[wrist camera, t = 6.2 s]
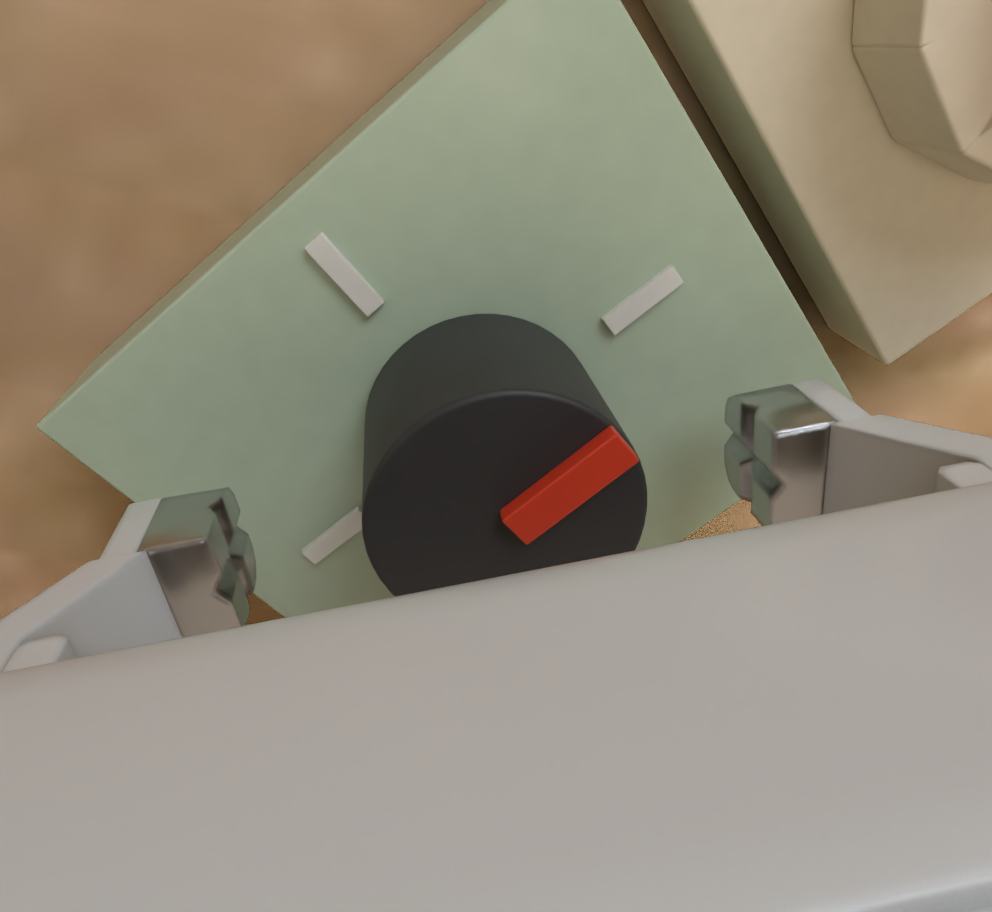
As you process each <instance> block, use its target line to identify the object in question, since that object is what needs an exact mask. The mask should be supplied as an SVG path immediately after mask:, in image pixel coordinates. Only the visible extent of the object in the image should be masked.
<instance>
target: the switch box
mask: <svg viewBox="0 0 992 912" xmlns="http://www.w3.org/2000/svg"><path fill="white" fill-rule="evenodd" d="M642 1H643V2H644V4H645V6H646V8H647V9H648V11H649V13H650V15H651V16H652V18H653V20H654V22H655V24H656V25H657V27H658V29H659V31H660V32H661V34H662V36H663V38H664V39H665V41H666V43H667V45H668V46H669V48H670V50H671V52H672V53H673V55H674V57H675V59H676V60H677V62H678V64H679V66H680V67H681V69H682V71H683V73H684V74H685V76H686V78H687V80H688V81H689V83H690V85H691V87H692V88H693V90H694V92H695V94H696V95H697V97H698V99H699V101H700V102H701V104H702V106H703V108H704V109H705V111H706V113H707V115H708V116H709V118H710V120H711V122H712V124H713V125H714V127H715V129H716V131H717V132H718V134H719V136H720V138H721V139H722V141H723V143H724V145H725V146H726V148H727V150H728V152H729V153H730V155H731V157H732V159H733V160H734V162H735V164H736V166H737V167H738V169H739V171H740V173H741V174H742V176H743V178H744V180H745V181H746V183H747V185H748V187H749V188H750V190H751V192H752V194H753V195H754V197H755V199H756V201H757V202H758V204H759V206H760V208H761V209H762V211H763V213H764V215H765V217H766V218H767V220H768V222H769V224H770V225H771V227H772V229H773V231H774V232H775V234H776V236H777V238H778V239H779V241H780V243H781V245H782V246H783V248H784V250H785V252H786V253H787V255H788V257H789V259H790V260H791V262H792V264H793V266H794V267H795V269H796V271H797V273H798V274H799V276H800V278H801V280H802V281H803V283H804V285H805V287H806V288H807V290H808V292H809V294H810V295H811V297H812V299H813V301H814V302H815V304H816V306H817V308H818V309H819V311H820V313H821V315H822V317H823V318H824V320H825V322H826V324H827V325H828V327H829V329H830V330H832V331H833V332H835V333H836V334H838V335H840V336H841V337H843V338H844V339H846V340H847V341H849V342H850V343H852V344H854V345H855V346H857V347H858V348H860V349H861V350H863V351H864V352H866V353H867V354H869V355H871V356H872V357H874V358H875V359H877V360H878V361H880V362H881V363H883V364H885V365H889V364H891V363H892V362H893V361H895V360H896V359H898V358H899V357H901V356H902V355H904V354H905V353H906V352H908V351H909V350H911V349H912V348H914V347H915V346H917V345H918V344H919V343H921V342H922V341H924V340H925V339H927V338H928V337H929V336H931V335H932V334H934V333H935V332H937V331H938V330H940V329H941V328H942V327H944V326H945V325H947V324H948V323H950V322H951V321H952V320H954V319H955V318H957V317H958V316H960V315H961V314H963V313H964V312H965V311H967V310H968V309H970V308H971V307H973V306H974V305H975V304H977V303H978V302H980V301H981V300H983V299H984V298H986V297H987V296H988V295H990V294H991V293H992V0H642Z"/></svg>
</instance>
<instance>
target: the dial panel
mask: <svg viewBox="0 0 992 912" xmlns="http://www.w3.org/2000/svg"><path fill="white" fill-rule="evenodd" d="M473 314H500V315H508V316H512V317H516V318H520V319H524V320H527V321H529V322H532V323H534V324H537V325H539V326H541V327H542V328H544V329H546V330H548V331H549V332H551V333H552V334H554V335H555V336H556V337H558V338H559V339H560V340H562V341H563V342H564V343H565V344H566V345H567V346H568V347H569V348H570V349H571V350H572V351H573V353H574V354H575V355H576V357H577V358H578V360H579V361H580V362H581V364H582V365H583V367H584V369H585V370H586V372H587V373H588V375H589V377H590V378H591V380H592V381H593V383H594V385H595V386H596V388H597V389H598V391H599V393H600V394H601V396H602V397H603V399H604V401H605V402H606V404H607V405H608V407H609V409H610V410H611V412H612V413H613V415H614V417H615V418H616V420H617V421H618V423H619V425H620V426H621V428H622V429H623V431H624V432H625V434H626V436H627V437H628V439H629V440H630V442H631V444H632V445H633V447H634V449H635V451H636V453H637V455H638V457H639V459H640V461H641V465H642V468H643V471H644V474H645V479H646V486H647V512H646V518H645V524H644V528H643V531H642V535H641V538H640V541H639V543H638V545H637V547H636V549H635V550H640V549H646V548H651V547H656V546H661V545H666V544H672V543H677V542H680V541H681V540H683V539H684V538H686V537H687V536H689V535H690V534H692V533H693V532H695V531H696V530H697V529H699V528H700V527H702V526H703V525H705V524H706V523H708V522H709V521H711V520H712V519H714V518H715V517H716V516H718V515H719V514H721V513H722V512H724V511H725V510H727V509H728V508H730V507H731V506H732V505H734V504H735V503H737V502H738V501H740V500H741V499H740V498H739V497H738V496H737V495H736V493H735V492H734V491H733V489H732V487H731V485H730V483H729V481H728V477H727V473H726V469H725V464H724V445H725V444H726V442H727V441H728V439H729V438H730V437H731V435H732V434H733V431H732V430H731V429H730V428H729V427H728V425H727V424H726V423H725V406H726V402H727V398H729V397H731V396H733V395H737V394H742V393H747V392H752V391H757V390H761V389H766V388H771V387H776V386H781V385H786V384H794V383H798V382H803V381H807V380H811V379H822V380H823V381H825V382H826V383H827V384H829V385H830V386H831V387H833V388H834V389H836V390H837V391H838V392H840V393H841V394H842V395H844V396H845V397H847V398H848V399H849V400H851V401H852V402H853V403H855V401H854V399H853V398H852V396H851V394H850V393H849V391H848V389H847V387H846V386H845V384H844V382H843V381H842V379H841V377H840V375H839V374H838V372H837V370H836V369H835V367H834V365H833V363H832V362H831V360H830V358H829V357H828V355H827V353H826V351H825V350H824V348H823V346H822V345H821V343H820V341H819V339H818V338H817V336H816V334H815V333H814V331H813V329H812V327H811V326H810V324H809V322H808V321H807V319H806V317H805V315H804V314H803V312H802V310H801V309H800V307H799V305H798V303H797V302H796V300H795V298H794V297H793V295H792V293H791V291H790V290H789V288H788V286H787V285H786V283H785V281H784V279H783V278H782V276H781V274H780V273H779V271H778V269H777V267H776V266H775V264H774V262H773V261H772V259H771V257H770V255H769V254H768V252H767V250H766V249H765V247H764V245H763V243H762V242H761V240H760V238H759V237H758V235H757V233H756V232H755V230H754V228H753V226H752V225H751V223H750V221H749V220H748V218H747V216H746V214H745V213H744V211H743V209H742V208H741V206H740V204H739V202H738V201H737V199H736V197H735V196H734V194H733V192H732V190H731V189H730V187H729V185H728V184H727V182H726V180H725V178H724V177H723V175H722V173H721V172H720V170H719V168H718V166H717V165H716V163H715V161H714V160H713V158H712V156H711V154H710V153H709V151H708V149H707V148H706V146H705V144H704V142H703V141H702V139H701V137H700V136H699V134H698V132H697V130H696V129H695V127H694V125H693V124H692V122H691V120H690V118H689V117H688V115H687V113H686V112H685V110H684V108H683V106H682V105H681V103H680V101H679V100H678V98H677V96H676V94H675V93H674V91H673V89H672V88H671V86H670V84H669V82H668V81H667V79H666V77H665V76H664V74H663V72H662V70H661V69H660V67H659V65H658V64H657V62H656V60H655V58H654V57H653V55H652V53H651V52H650V50H649V48H648V46H647V45H646V43H645V41H644V40H643V38H642V36H641V34H640V33H639V31H638V29H637V28H636V26H635V24H634V22H633V21H632V19H631V17H630V16H629V14H628V12H627V11H626V9H625V7H624V5H623V4H622V2H621V0H489V1H488V2H487V3H486V4H485V5H484V6H483V7H482V8H480V9H479V10H478V11H477V12H476V13H475V14H474V15H473V16H472V17H471V18H469V19H468V20H467V21H466V22H465V23H464V24H463V25H462V26H461V27H460V28H458V29H457V30H456V31H455V32H454V33H453V34H452V35H451V36H450V37H449V38H447V39H446V40H445V41H444V42H443V43H442V44H441V45H440V46H439V47H438V48H436V49H435V50H434V51H433V52H432V53H431V54H430V55H429V56H428V57H427V58H425V59H424V60H423V61H422V62H421V63H420V64H419V65H418V66H417V67H416V68H414V69H413V70H412V71H411V72H410V73H409V74H408V75H407V76H406V77H405V78H403V79H402V80H401V81H400V82H399V83H398V84H397V85H396V86H395V87H394V88H392V89H391V90H390V91H389V92H388V93H387V94H386V95H385V96H384V97H383V98H381V99H380V100H379V101H378V102H377V103H376V104H375V105H374V106H373V107H372V108H370V109H369V110H368V111H367V112H366V113H365V114H364V115H363V116H362V117H361V118H359V119H358V120H357V121H356V122H355V123H354V124H353V125H352V126H351V127H350V128H348V129H347V130H346V131H345V132H344V133H343V134H342V135H341V136H340V137H339V138H337V139H336V140H335V141H334V142H333V143H332V144H331V145H330V146H329V147H328V148H326V149H325V150H324V151H323V152H322V153H321V154H320V155H319V156H318V157H317V158H315V159H314V160H313V161H312V162H311V163H310V164H309V165H308V166H307V167H306V168H304V169H303V170H302V171H301V172H300V173H299V174H298V175H297V176H296V177H295V178H293V179H292V180H291V181H290V182H289V183H288V184H287V185H286V186H285V187H284V188H282V189H281V190H280V191H279V192H278V193H277V194H276V195H275V196H274V197H273V198H271V199H270V200H269V201H268V202H267V203H266V204H265V205H264V206H263V207H262V208H260V209H259V210H258V211H257V212H256V213H255V214H254V215H253V216H252V217H251V218H249V219H248V220H247V221H246V222H245V223H244V224H243V225H242V226H241V227H240V228H238V229H237V230H236V231H235V232H234V233H233V234H232V235H231V236H230V237H229V238H227V239H226V240H225V241H224V242H223V243H222V244H221V245H220V246H219V247H218V248H216V249H215V250H214V251H213V252H212V253H211V254H210V255H209V256H208V257H207V258H205V259H204V260H203V261H202V262H201V263H200V264H199V265H198V266H197V267H196V268H194V269H193V270H192V271H191V272H190V273H189V274H188V275H187V276H186V277H185V278H183V279H182V280H181V281H180V282H179V283H178V284H177V285H176V286H175V287H174V288H172V289H171V290H170V291H169V292H168V293H167V294H166V295H165V296H164V297H163V298H161V299H160V300H159V301H158V302H157V303H156V304H155V305H154V306H153V307H151V308H150V309H149V310H148V311H147V312H146V313H145V314H144V315H143V316H142V317H140V318H139V319H138V320H137V321H136V322H135V323H134V324H133V325H132V326H131V327H129V328H128V329H127V330H126V331H125V332H124V333H123V334H122V335H121V336H120V337H118V338H117V339H116V340H115V341H114V342H113V343H112V344H111V345H110V346H109V347H107V348H106V349H105V350H104V351H103V352H102V353H101V354H100V355H99V356H98V357H96V358H95V359H94V360H93V362H92V363H91V364H90V365H89V366H88V367H87V368H86V370H85V371H84V372H83V373H82V374H81V375H80V376H79V378H78V379H77V380H76V381H75V382H74V383H73V384H72V385H71V387H70V388H69V389H68V390H67V391H66V392H65V393H64V395H63V396H62V397H61V398H60V399H59V400H58V401H57V403H56V404H55V405H54V406H53V407H52V408H51V409H50V411H49V412H48V413H47V414H46V415H45V416H44V417H43V418H42V420H41V421H40V422H39V423H38V425H37V428H38V429H39V430H40V431H41V432H43V433H44V434H45V435H47V436H48V437H49V438H51V439H52V440H53V441H54V442H56V443H57V444H58V445H60V446H61V447H62V448H64V449H65V450H66V451H68V452H69V453H70V454H71V455H73V456H74V457H75V458H77V459H78V460H79V461H81V462H82V463H83V464H85V465H86V466H87V467H88V468H90V469H91V470H92V471H94V472H95V473H96V474H98V475H99V476H100V477H102V478H103V479H104V480H105V481H107V482H108V483H109V484H111V485H112V486H113V487H115V488H116V489H117V490H119V491H120V492H121V493H122V494H124V495H125V496H126V497H128V498H129V499H130V500H132V501H133V502H134V503H136V502H141V501H146V500H150V499H155V498H159V497H164V498H165V497H170V496H176V495H182V494H188V493H194V492H200V491H206V490H212V489H219V488H225V487H229V488H230V489H231V490H232V492H233V493H234V495H235V497H236V500H237V503H238V505H239V508H240V515H239V518H238V522H237V526H238V527H239V528H241V529H242V530H244V531H245V532H246V533H248V534H249V537H250V540H251V543H252V546H253V550H254V555H255V559H256V575H257V579H256V584H255V590H254V591H253V592H252V593H253V594H254V595H256V596H257V597H258V598H260V599H261V600H262V601H264V602H265V603H266V604H268V605H269V606H270V607H271V608H273V609H274V610H275V611H277V612H278V613H279V614H281V615H282V616H283V617H285V618H286V617H291V616H297V615H302V614H307V613H312V612H317V611H323V610H328V609H333V608H338V607H343V606H349V605H354V604H359V603H364V602H369V601H375V600H380V599H385V598H390V597H395V596H394V595H393V594H392V593H391V592H390V591H389V590H388V589H387V587H386V586H385V585H384V584H383V582H382V581H381V580H380V579H379V577H378V575H377V574H376V572H375V570H374V568H373V567H372V565H371V562H370V560H369V557H368V555H367V552H366V549H365V544H364V539H363V535H362V491H363V460H364V429H365V414H366V406H367V402H368V398H369V394H370V391H371V389H372V387H373V384H374V382H375V379H376V378H377V376H378V374H379V373H380V371H381V369H382V367H383V366H384V365H385V363H386V362H387V361H388V360H389V358H390V357H391V356H392V355H393V354H394V353H395V352H396V351H397V350H398V349H399V348H400V347H401V346H402V345H403V344H404V343H405V342H407V341H408V340H409V339H411V338H412V337H413V336H415V335H416V334H418V333H419V332H421V331H423V330H425V329H427V328H428V327H430V326H433V325H435V324H437V323H440V322H442V321H445V320H448V319H452V318H456V317H459V316H465V315H473ZM855 404H856V403H855Z"/></svg>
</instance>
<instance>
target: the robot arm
mask: <svg viewBox="0 0 992 912" xmlns="http://www.w3.org/2000/svg"><path fill="white" fill-rule="evenodd" d="M725 423H726V424H727V425H728V427H729V428H730V429H731V430H732V431H733V434H732V435H731V437H730V438H729V439H728V441H727V442H726V444H725V445H724V464H725V469H726V473H727V477H728V481H729V483H730V485H731V487H732V489H733V491H734V492H735V493H736V495H737V496H738V497H739V498H740V499H743V500H746V501H749V502H751V513H752V514H753V516H754V517H755V518H756V519H757V520H758V522H759V523H760V524H761V525H762V526H760V527H755V528H750V529H744V530H739V531H734V532H729V533H724V534H718V535H713V536H708V537H703V538H698V539H692V540H687V541H682V542H677V543H672V544H666V545H661V546H656V547H651V548H646V549H640V550H635V551H630V552H625V553H620V554H614V555H609V556H604V557H599V558H593V559H588V560H583V561H578V562H573V563H567V564H562V565H557V566H552V567H547V568H541V569H536V570H531V571H526V572H521V573H515V574H510V575H505V576H500V577H495V578H489V579H484V580H479V581H474V582H468V583H463V584H458V585H453V586H448V587H442V588H437V589H432V590H427V591H422V592H416V593H411V594H406V595H401V596H396V597H390V598H385V599H380V600H375V601H369V602H364V603H359V604H354V605H349V606H343V607H338V608H333V609H328V610H323V611H317V612H312V613H307V614H302V615H297V616H291V617H286V618H281V619H276V620H270V621H265V622H260V623H255V624H250V625H247V621H248V617H249V612H250V606H249V603H248V600H247V597H248V596H249V595H250V594H251V593H252V592H253V591H254V590H255V584H256V579H257V575H256V559H255V555H254V550H253V546H252V543H251V540H250V537H249V534H248V533H246V532H245V531H244V530H242V529H241V528H239V527H238V526H237V522H238V518H239V515H240V508H239V505H238V503H237V500H236V497H235V495H234V493H233V492H232V490H231V489H230V488H229V487H225V488H219V489H212V490H206V491H200V492H194V493H188V494H182V495H176V496H170V497H165V498H164V497H159V498H155V499H150V500H146V501H141V502H136V503H132V504H129V505H128V507H127V509H126V510H125V512H124V514H123V516H122V518H121V520H120V521H119V523H118V525H117V527H116V529H115V531H114V532H113V534H112V536H111V538H110V540H109V542H108V544H107V545H106V547H105V549H104V551H103V553H102V555H101V556H100V558H99V559H96V560H91V561H88V562H87V563H85V564H84V565H82V566H81V567H79V568H78V569H76V570H74V571H73V572H71V573H70V574H68V575H67V576H65V577H64V578H62V579H61V580H59V581H58V582H56V583H55V584H53V585H52V586H50V587H49V588H47V589H46V590H44V591H43V592H41V593H40V594H38V595H37V596H35V597H34V598H32V599H31V600H29V601H28V602H26V603H25V604H23V605H22V606H20V607H19V608H17V609H16V610H14V611H12V612H11V613H9V614H8V615H6V616H5V617H3V618H2V619H0V912H992V438H991V437H986V436H981V435H977V434H972V433H967V432H962V431H958V430H953V429H948V428H943V427H939V426H934V425H929V424H924V423H920V422H915V421H910V420H905V419H901V418H896V417H891V416H887V415H882V414H880V415H874V416H871V415H870V414H868V413H867V412H866V411H864V410H863V409H862V408H860V407H859V406H857V405H856V404H855V403H853V402H852V401H851V400H849V399H848V398H847V397H845V396H844V395H842V394H841V393H840V392H838V391H837V390H836V389H834V388H833V387H831V386H830V385H829V384H827V383H826V382H825V381H823V380H822V379H811V380H807V381H803V382H798V383H794V384H786V385H781V386H776V387H771V388H766V389H761V390H757V391H752V392H747V393H742V394H737V395H733V396H731V397H729V398H727V402H726V406H725Z"/></svg>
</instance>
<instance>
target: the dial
mask: <svg viewBox="0 0 992 912" xmlns="http://www.w3.org/2000/svg"><path fill="white" fill-rule="evenodd" d="M646 512H647V486H646V479H645V474H644V471H643V468H642V465H641V461H640V459H639V457H638V455H637V453H636V451H635V449H634V447H633V445H632V444H631V442H630V440H629V439H628V437H627V436H626V434H625V432H624V431H623V429H622V428H621V426H620V425H619V423H618V421H617V420H616V418H615V417H614V415H613V413H612V412H611V410H610V409H609V407H608V405H607V404H606V402H605V401H604V399H603V397H602V396H601V394H600V393H599V391H598V389H597V388H596V386H595V385H594V383H593V381H592V380H591V378H590V377H589V375H588V373H587V372H586V370H585V369H584V367H583V365H582V364H581V362H580V361H579V360H578V358H577V357H576V355H575V354H574V353H573V351H572V350H571V349H570V348H569V347H568V346H567V345H566V344H565V343H564V342H563V341H562V340H560V339H559V338H558V337H556V336H555V335H554V334H552V333H551V332H549V331H548V330H546V329H544V328H542V327H541V326H539V325H537V324H534V323H532V322H529V321H527V320H524V319H520V318H516V317H512V316H508V315H500V314H473V315H465V316H459V317H456V318H452V319H448V320H445V321H442V322H440V323H437V324H435V325H433V326H430V327H428V328H427V329H425V330H423V331H421V332H419V333H418V334H416V335H415V336H413V337H412V338H411V339H409V340H408V341H407V342H405V343H404V344H403V345H402V346H401V347H400V348H399V349H398V350H397V351H396V352H395V353H394V354H393V355H392V356H391V357H390V358H389V360H388V361H387V362H386V363H385V365H384V366H383V367H382V369H381V371H380V373H379V374H378V376H377V378H376V379H375V382H374V384H373V387H372V389H371V391H370V394H369V398H368V402H367V406H366V414H365V429H364V460H363V491H362V535H363V539H364V544H365V549H366V552H367V555H368V557H369V560H370V562H371V565H372V567H373V568H374V570H375V572H376V574H377V575H378V577H379V579H380V580H381V581H382V582H383V584H384V585H385V586H386V587H387V589H388V590H389V591H390V592H391V593H392V594H393V595H394V596H395V597H396V596H401V595H406V594H411V593H416V592H422V591H427V590H432V589H437V588H442V587H448V586H453V585H458V584H463V583H468V582H474V581H479V580H484V579H489V578H495V577H500V576H505V575H510V574H515V573H521V572H526V571H531V570H536V569H541V568H547V567H552V566H557V565H562V564H567V563H573V562H578V561H583V560H588V559H593V558H599V557H604V556H609V555H614V554H620V553H625V552H630V551H635V549H636V547H637V545H638V543H639V541H640V538H641V535H642V531H643V528H644V524H645V518H646Z"/></svg>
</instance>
